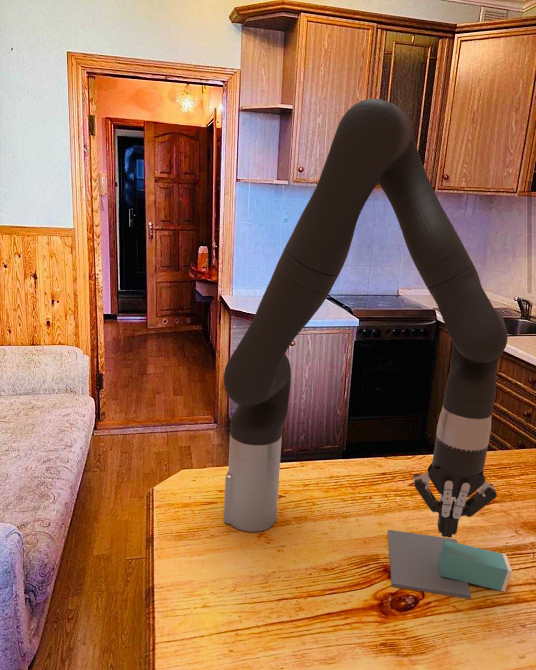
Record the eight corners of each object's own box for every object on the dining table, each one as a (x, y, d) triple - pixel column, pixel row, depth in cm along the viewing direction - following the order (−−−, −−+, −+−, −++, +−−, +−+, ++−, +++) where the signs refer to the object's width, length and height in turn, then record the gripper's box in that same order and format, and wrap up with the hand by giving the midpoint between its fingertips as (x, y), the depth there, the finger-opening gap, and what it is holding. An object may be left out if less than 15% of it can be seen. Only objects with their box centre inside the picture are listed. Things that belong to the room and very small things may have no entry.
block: (447, 555, 89) (512, 571, 88) (444, 540, 93) (506, 554, 92) (441, 576, 91) (504, 591, 89) (438, 559, 94) (499, 574, 93)
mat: (391, 586, 89) (391, 583, 89) (387, 532, 103) (388, 529, 102) (470, 598, 88) (470, 595, 87) (456, 542, 101) (456, 539, 101)
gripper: (420, 442, 83) (405, 542, 88) (514, 453, 81) (494, 555, 86) (415, 420, 90) (402, 514, 95) (502, 430, 88) (484, 526, 93)
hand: (446, 533), depth 91 cm, fingers closed
